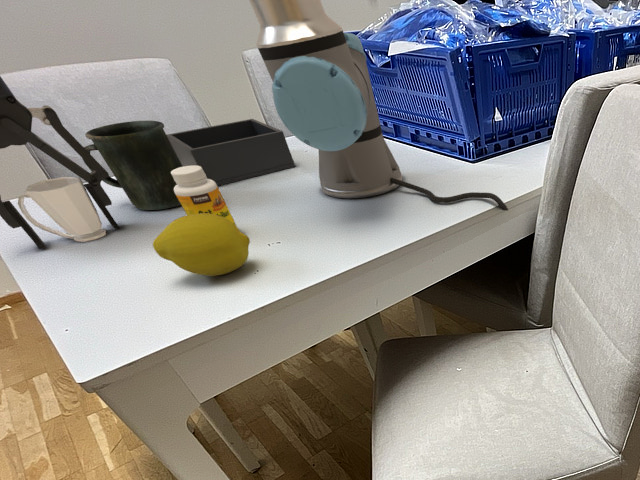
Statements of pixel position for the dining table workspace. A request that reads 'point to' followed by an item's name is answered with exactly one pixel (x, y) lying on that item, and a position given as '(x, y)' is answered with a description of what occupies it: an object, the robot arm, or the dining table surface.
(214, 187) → the supplement bottle
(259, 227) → the dining table surface
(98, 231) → the cup
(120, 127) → the mug
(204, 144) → the bin
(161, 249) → the lemon
